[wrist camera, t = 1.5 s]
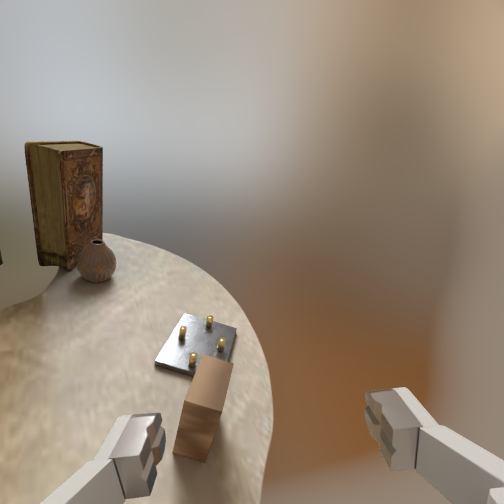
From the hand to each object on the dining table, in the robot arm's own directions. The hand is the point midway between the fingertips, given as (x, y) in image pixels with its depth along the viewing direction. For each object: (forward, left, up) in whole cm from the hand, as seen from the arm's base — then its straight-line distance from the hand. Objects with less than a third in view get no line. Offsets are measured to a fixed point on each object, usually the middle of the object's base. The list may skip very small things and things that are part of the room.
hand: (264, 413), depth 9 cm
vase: (-34, +35, -26) cm, 55 cm away
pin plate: (-7, +25, -25) cm, 36 cm away
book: (-44, +41, -26) cm, 65 cm away
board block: (-3, +12, -25) cm, 28 cm away
